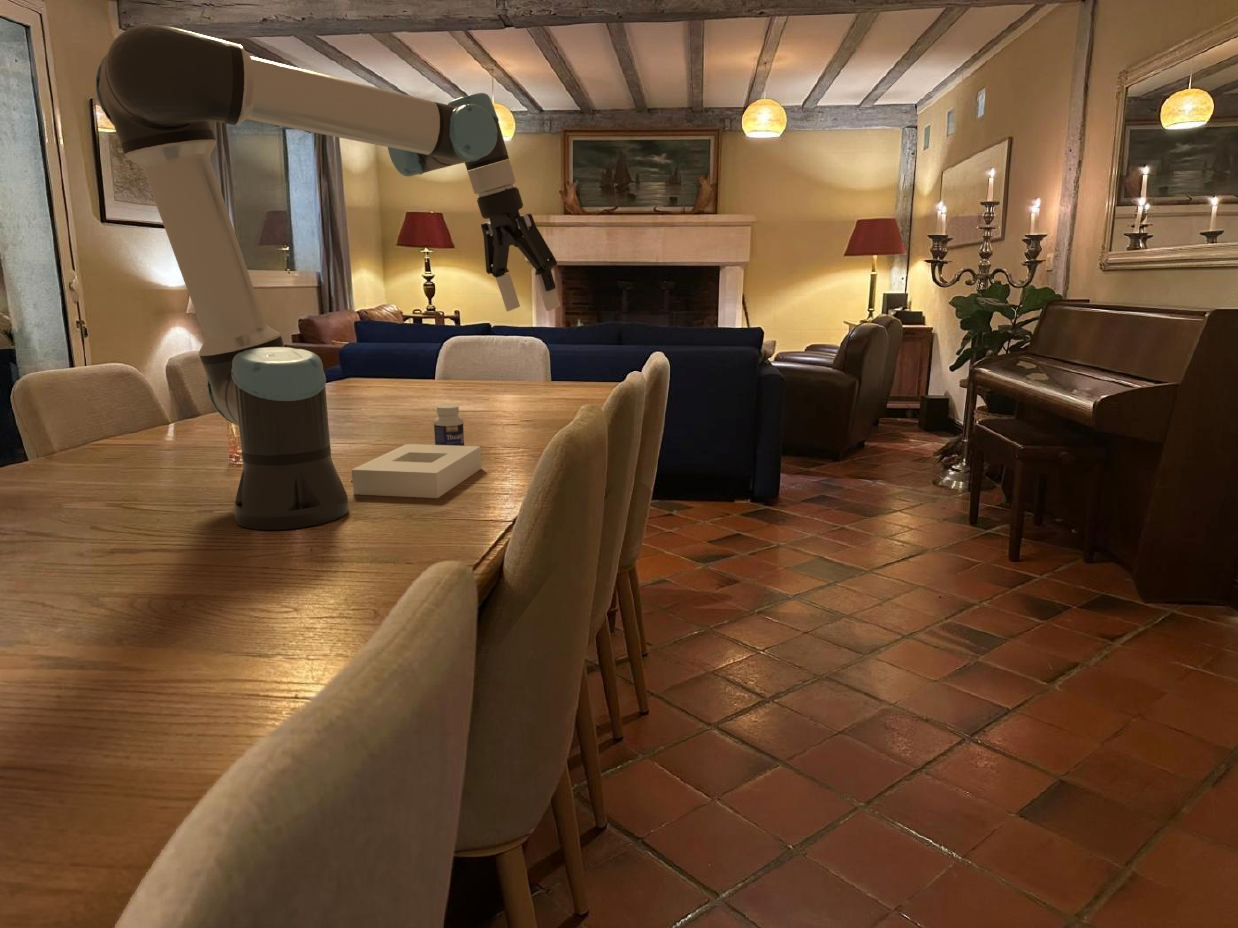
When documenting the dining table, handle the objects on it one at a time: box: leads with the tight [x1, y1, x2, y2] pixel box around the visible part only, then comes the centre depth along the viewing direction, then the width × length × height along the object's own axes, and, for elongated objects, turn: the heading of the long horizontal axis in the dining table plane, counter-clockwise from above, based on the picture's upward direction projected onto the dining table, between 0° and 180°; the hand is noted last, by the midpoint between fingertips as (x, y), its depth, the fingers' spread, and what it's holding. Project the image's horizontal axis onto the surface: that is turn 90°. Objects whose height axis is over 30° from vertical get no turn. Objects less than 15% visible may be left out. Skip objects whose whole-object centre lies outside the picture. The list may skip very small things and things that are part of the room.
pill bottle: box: [433, 404, 465, 446], centre depth 152 cm, size 5×5×10 cm
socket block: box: [351, 443, 483, 499], centre depth 136 cm, size 14×20×4 cm
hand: (532, 309), depth 149 cm, fingers open, 13 cm apart
